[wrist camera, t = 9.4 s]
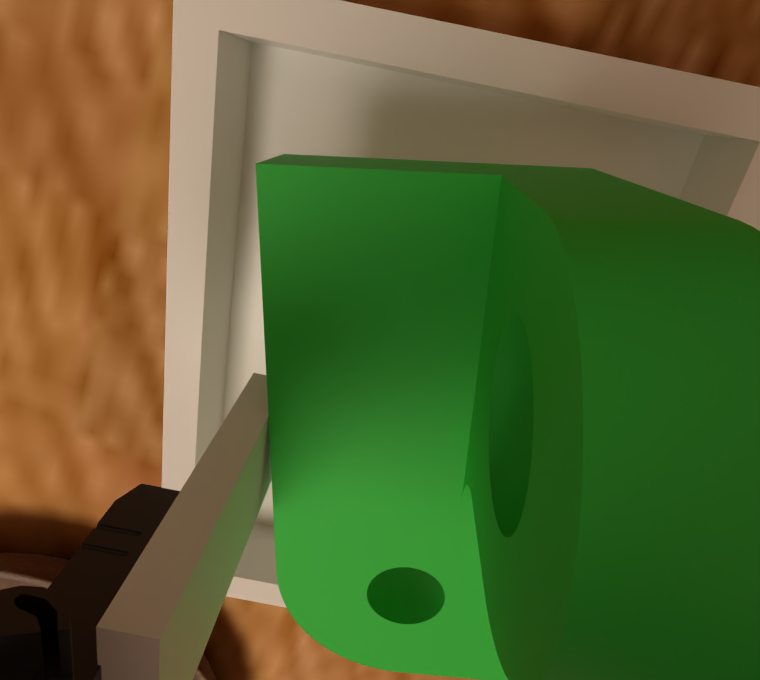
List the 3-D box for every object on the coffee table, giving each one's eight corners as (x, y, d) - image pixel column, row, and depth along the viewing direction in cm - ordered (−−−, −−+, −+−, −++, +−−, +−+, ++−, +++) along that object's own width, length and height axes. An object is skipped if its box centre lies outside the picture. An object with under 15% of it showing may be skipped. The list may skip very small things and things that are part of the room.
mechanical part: (283, 153, 11) (-18, 257, 3) (592, 167, 10) (1007, 315, 3) (297, 595, 15) (186, 1037, 8) (508, 613, 15) (592, 1087, 8)
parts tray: (228, -4, 14) (173, -35, 11) (738, 101, 15) (828, 101, 11) (197, 512, 22) (159, 583, 18) (537, 578, 22) (557, 659, 19)
